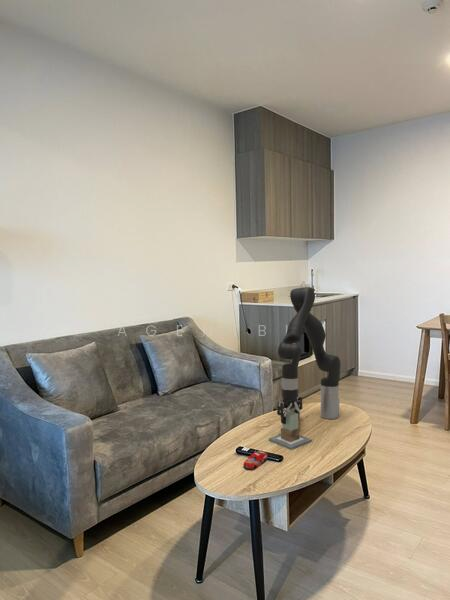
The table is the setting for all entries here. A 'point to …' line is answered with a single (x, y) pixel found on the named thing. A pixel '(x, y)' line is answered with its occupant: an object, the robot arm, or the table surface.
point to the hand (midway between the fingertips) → (290, 421)
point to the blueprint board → (273, 439)
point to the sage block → (291, 421)
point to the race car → (255, 460)
